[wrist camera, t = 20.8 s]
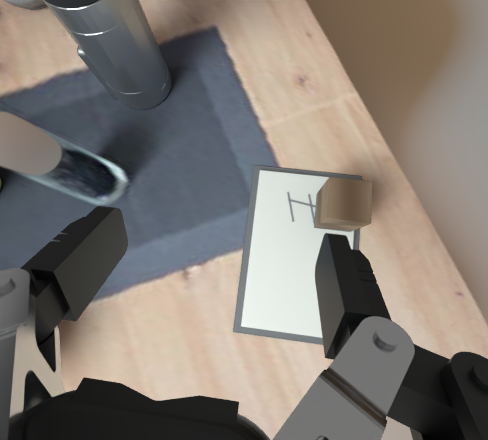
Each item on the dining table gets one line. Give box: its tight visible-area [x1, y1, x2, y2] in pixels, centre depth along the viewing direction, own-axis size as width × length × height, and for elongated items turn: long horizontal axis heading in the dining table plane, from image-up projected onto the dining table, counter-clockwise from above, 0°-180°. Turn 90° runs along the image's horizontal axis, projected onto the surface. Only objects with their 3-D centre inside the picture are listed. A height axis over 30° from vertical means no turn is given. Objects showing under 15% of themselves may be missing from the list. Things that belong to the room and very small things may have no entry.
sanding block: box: [314, 177, 373, 232], centre depth 35 cm, size 5×5×7 cm
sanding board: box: [233, 165, 362, 345], centre depth 39 cm, size 16×24×1 cm, turn 173°
